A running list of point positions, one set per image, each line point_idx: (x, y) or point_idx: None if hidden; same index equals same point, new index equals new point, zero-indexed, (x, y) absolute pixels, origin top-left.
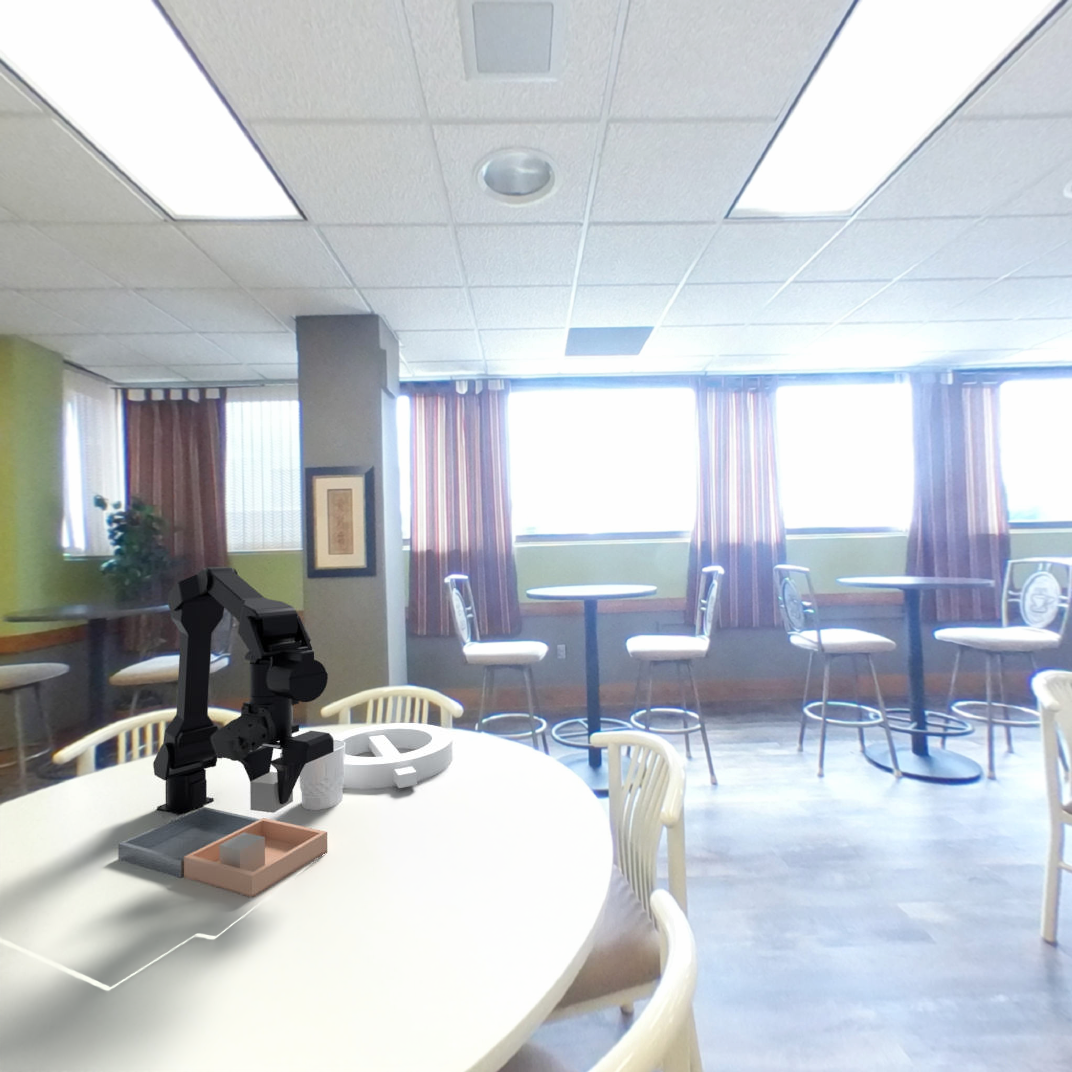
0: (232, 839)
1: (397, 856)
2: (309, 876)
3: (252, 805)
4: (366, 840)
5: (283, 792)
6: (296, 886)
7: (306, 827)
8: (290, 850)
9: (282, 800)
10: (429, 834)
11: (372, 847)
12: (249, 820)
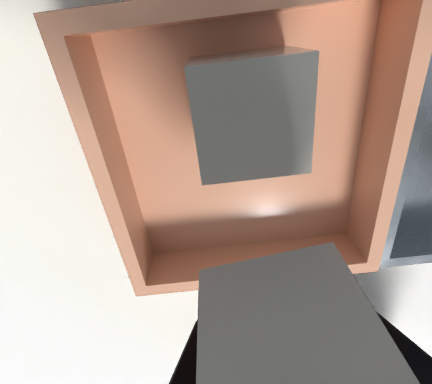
0: (307, 114)
1: (10, 305)
2: (74, 178)
3: (329, 260)
4: (125, 315)
5: (172, 382)
6: (50, 133)
7: None
8: (114, 196)
9: (189, 336)
10: (48, 365)
11: (87, 305)
12: (421, 252)
